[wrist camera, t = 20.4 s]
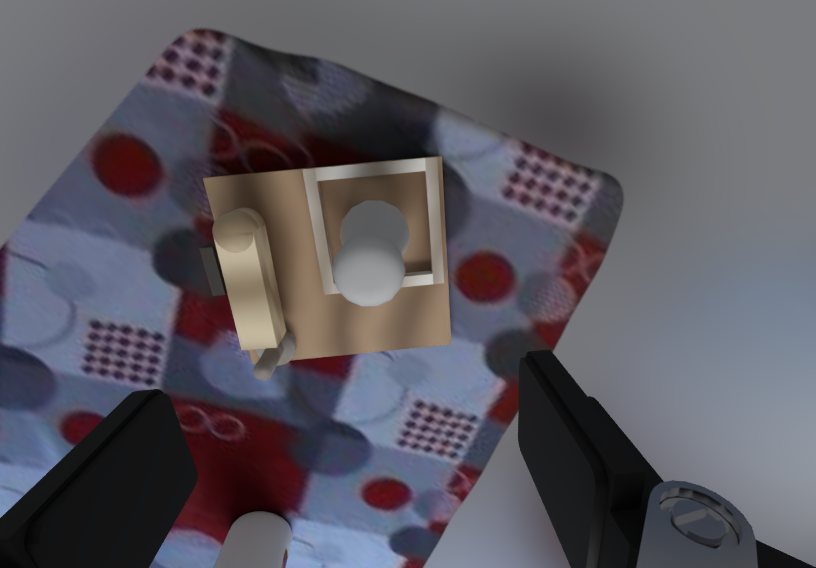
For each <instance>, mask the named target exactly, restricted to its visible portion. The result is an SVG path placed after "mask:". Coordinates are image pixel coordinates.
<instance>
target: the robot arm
mask: <svg viewBox="0 0 816 568" xmlns="http://www.w3.org/2000/svg"><path fill="white" fill-rule="evenodd" d="M518 441H519V447H520V450H521V453H522V455H523V458H524V460H525V462H526V465H527V467H528V469H529V471H530V474H531V476H532V478H533V481H534V483H535V485H536V487H537V490H538V492H539V494H540V497H541V499H542V502H543V504H544V506H545V508H546V511H547V513H548V515H549V518H550V520H551V522H552V525H553V527H554V529H555V531H556V534H557V536H558V538H559V541H560V543H561V545H562V548H563V550H564V552H565V554H566V557H567V559H568V561H569V564H570V566H571V568H816V567H814V566H812V565H809V564H807V563H805V562H803V561H801V560H798V559H796V558H794V557H792V556H790V555H788V554H786V553H783V552H781V551H779V550H777V549H775V548H772V547H770V546H768V545H766V544H764V543H762V542H760V541H757V540H756V539H755V536H754V533H753V529H752V527H751V525H750V524H749V522H748V521H747V519H746V518H745V517H744V515H743V514H742V513H741V512H740V511H739V510H738V509H737V508H736V507H735V506H734V505H733V504H732V503H730V502H729V501H727V500H726V499H725V498H723V497H722V496H720V495H718V494H717V493H715V492H713V491H711V490H709V489H707V488H705V487H702V486H700V485H696V484H692V483H689V482H686V481H673V480H672V481H667V482H664V481H663V480H662V479H661V478H660V476H659V475H658V474H657V473H656V471H655V470H654V469H653V468H652V467H651V465H650V464H649V463H648V462H647V461H646V459H645V458H644V457H643V456H642V454H641V453H640V452H639V451H638V449H637V448H636V447H635V446H634V445H633V443H632V442H631V441H630V440H629V439H628V437H627V436H626V435H625V434H624V432H623V431H622V430H621V429H620V428H619V427H618V425H617V424H616V423H615V421H614V420H613V419H612V418H611V417H610V415H609V414H608V413H607V412H606V411H605V409H604V408H603V407H602V406H601V404H599V402H598V401H597V400H596V399H595V398H593V397H590V396H589V397H587V396H586V394H585V393H584V392H583V390H582V389H581V388H580V387H579V385H578V384H577V383H576V382H575V380H574V379H573V378H572V377H571V375H570V374H569V373H568V372H567V370H566V369H565V368H564V367H563V365H562V364H561V363H560V362H559V360H558V359H557V358H556V356H555V355H554V354H553V353H552V352H551V351H550V350H540V351H530V352H527V354H526V357H525V358H521V359H520V368H519V418H518ZM197 477H198V475H197V469H196V466H195V464H194V461H193V458H192V456H191V453H190V450H189V448H188V445H187V442H186V439H185V437H184V434H183V431H182V429H181V426H180V423H179V421H178V418H177V415H176V412H175V410H174V407H173V404H172V402H171V399H170V397H169V396H168V395H167V394H164V393H163V392H162V391H161V390H159V389H153V390H143V391H135V392H132V393H131V394H130V395H129V396H128V397H126V398H125V399H124V400H123V401H122V402H121V403H120V404H119V405H118V406H117V407H116V408H115V409H114V410H113V411H112V412H111V413H110V414H109V415H108V416H107V417H106V418H105V419H103V420H102V421H101V422H100V423H99V424H98V425H97V426H96V427H95V428H94V429H93V430H92V431H91V432H90V433H89V434H88V435H87V436H86V437H85V438H84V439H83V440H82V441H81V442H79V443H78V444H77V445H76V446H75V447H74V448H73V449H72V450H71V451H70V452H69V453H68V454H67V455H66V456H65V457H64V458H63V459H62V460H61V461H60V462H59V463H58V464H56V465H55V466H54V467H53V468H52V469H51V470H50V471H49V472H48V473H47V474H46V475H45V476H44V477H43V478H42V479H41V480H40V481H39V482H38V483H37V484H36V485H35V486H34V487H32V488H31V489H30V490H29V491H28V492H27V493H26V494H25V495H24V496H23V497H22V498H21V499H20V500H19V501H18V502H17V503H16V504H15V505H14V506H13V507H12V508H11V509H9V510H8V511H7V512H6V513H5V514H4V515H3V516H2V517H1V518H0V568H149V566H150V564H151V563H152V561H153V559H154V557H155V556H156V554H157V552H158V550H159V549H160V547H161V545H162V543H163V542H164V540H165V538H166V536H167V535H168V533H169V531H170V529H171V528H172V526H173V524H174V522H175V521H176V519H177V517H178V515H179V514H180V512H181V510H182V508H183V507H184V505H185V503H186V501H187V500H188V498H189V496H190V494H191V493H192V491H193V489H194V487H195V485H196V482H197Z"/></svg>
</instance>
